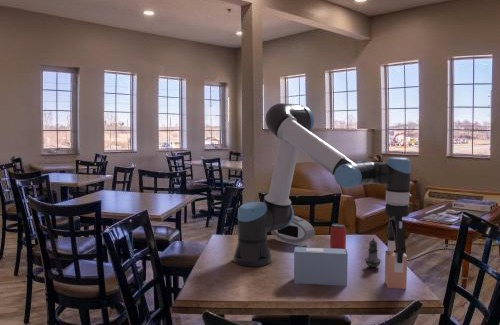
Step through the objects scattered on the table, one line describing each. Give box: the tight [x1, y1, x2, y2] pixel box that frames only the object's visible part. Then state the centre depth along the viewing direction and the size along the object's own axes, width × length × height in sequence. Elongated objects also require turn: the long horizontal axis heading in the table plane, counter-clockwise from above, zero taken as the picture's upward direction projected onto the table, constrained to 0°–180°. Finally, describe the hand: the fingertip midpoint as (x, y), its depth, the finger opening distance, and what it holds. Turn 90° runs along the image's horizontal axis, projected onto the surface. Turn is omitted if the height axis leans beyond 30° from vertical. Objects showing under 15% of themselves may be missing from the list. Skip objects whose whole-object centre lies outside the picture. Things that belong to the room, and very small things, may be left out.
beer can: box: [329, 223, 347, 250], centre depth 183 cm, size 7×7×12 cm
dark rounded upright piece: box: [364, 238, 382, 271], centre depth 160 cm, size 6×6×12 cm
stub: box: [384, 250, 408, 290], centre depth 143 cm, size 6×6×11 cm
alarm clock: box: [271, 215, 316, 247], centre depth 199 cm, size 23×6×13 cm, turn 43°
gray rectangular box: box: [293, 246, 349, 287], centre depth 147 cm, size 18×6×12 cm, turn 81°
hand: (394, 265), depth 143 cm, fingers open, 13 cm apart
